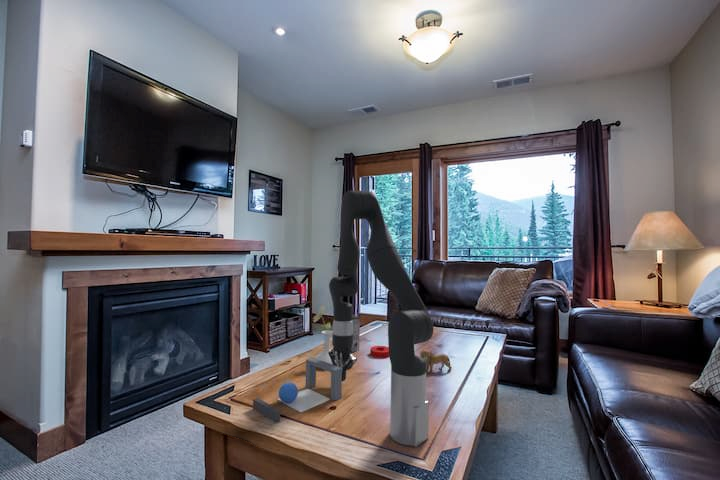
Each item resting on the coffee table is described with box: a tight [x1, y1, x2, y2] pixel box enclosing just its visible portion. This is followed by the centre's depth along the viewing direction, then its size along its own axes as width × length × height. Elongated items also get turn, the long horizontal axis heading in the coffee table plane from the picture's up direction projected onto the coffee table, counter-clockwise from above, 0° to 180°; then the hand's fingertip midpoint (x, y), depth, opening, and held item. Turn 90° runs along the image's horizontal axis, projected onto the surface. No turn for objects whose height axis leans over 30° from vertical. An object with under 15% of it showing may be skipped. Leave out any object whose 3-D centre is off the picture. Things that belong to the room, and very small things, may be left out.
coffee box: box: [351, 314, 361, 353], centre depth 165 cm, size 9×6×16 cm
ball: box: [278, 381, 299, 403], centre depth 107 cm, size 6×6×6 cm
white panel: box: [277, 387, 331, 413], centre depth 109 cm, size 12×12×1 cm
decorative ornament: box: [369, 345, 389, 359], centre depth 157 cm, size 10×10×3 cm
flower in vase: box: [312, 305, 336, 365], centre depth 141 cm, size 13×11×25 cm
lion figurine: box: [419, 349, 453, 374], centre depth 137 cm, size 15×5×9 cm, turn 109°
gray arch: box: [304, 357, 343, 402], centre depth 115 cm, size 3×15×10 cm, turn 47°
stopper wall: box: [252, 397, 281, 424], centre depth 99 cm, size 12×2×3 cm, turn 48°
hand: (341, 380), depth 122 cm, fingers closed
